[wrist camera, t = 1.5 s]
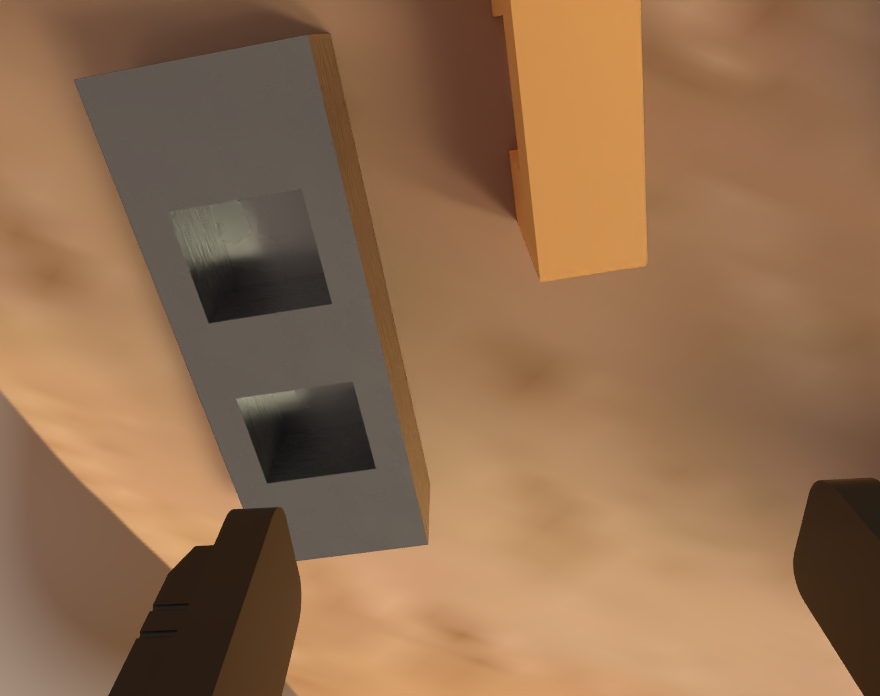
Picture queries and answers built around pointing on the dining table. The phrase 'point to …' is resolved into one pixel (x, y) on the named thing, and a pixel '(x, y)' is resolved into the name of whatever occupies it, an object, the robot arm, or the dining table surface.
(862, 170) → the dining table surface
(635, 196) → the long orange brick
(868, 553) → the robot arm
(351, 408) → the grey slotted block
